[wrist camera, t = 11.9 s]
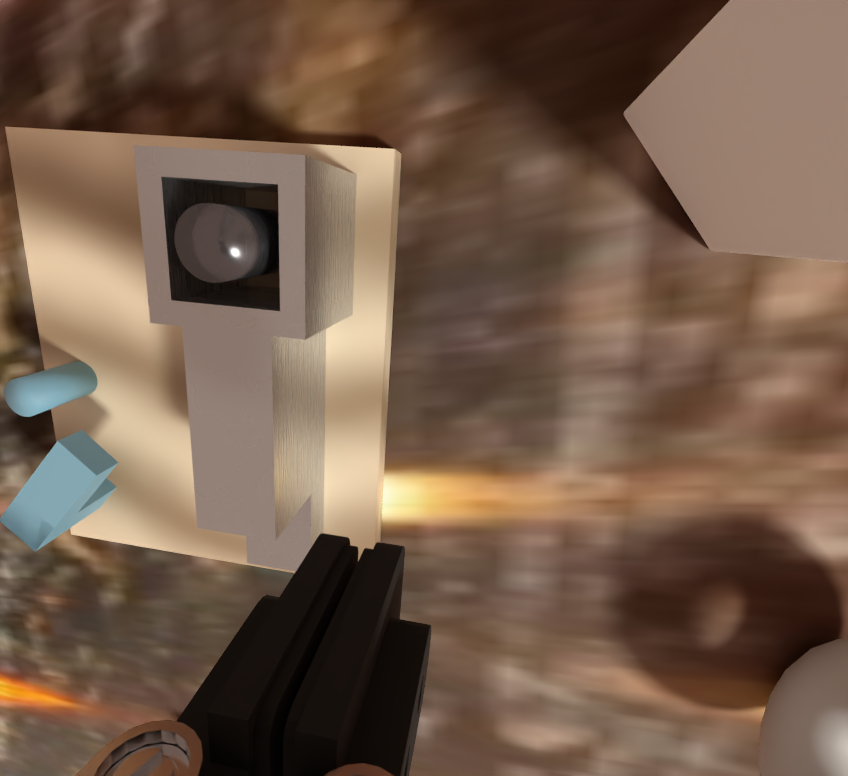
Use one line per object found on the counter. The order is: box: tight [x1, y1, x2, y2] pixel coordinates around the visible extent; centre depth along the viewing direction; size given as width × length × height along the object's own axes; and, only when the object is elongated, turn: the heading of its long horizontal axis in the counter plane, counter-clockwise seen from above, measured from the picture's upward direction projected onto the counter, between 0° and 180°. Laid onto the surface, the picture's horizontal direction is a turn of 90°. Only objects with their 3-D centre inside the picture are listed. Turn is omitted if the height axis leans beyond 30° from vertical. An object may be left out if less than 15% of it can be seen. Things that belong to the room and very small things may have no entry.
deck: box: [5, 127, 401, 573], centre depth 23 cm, size 19×16×1 cm
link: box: [133, 145, 357, 571], centre depth 19 cm, size 17×5×5 cm, turn 176°
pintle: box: [174, 203, 279, 283], centre depth 17 cm, size 2×2×6 cm
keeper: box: [0, 361, 119, 551], centre depth 23 cm, size 6×5×5 cm
